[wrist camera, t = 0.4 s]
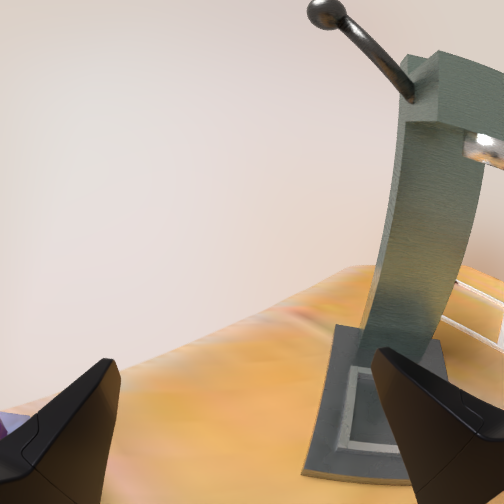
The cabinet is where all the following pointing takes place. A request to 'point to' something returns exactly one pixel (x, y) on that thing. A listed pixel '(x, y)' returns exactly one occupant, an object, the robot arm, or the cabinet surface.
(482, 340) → the photo frame
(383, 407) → the robot arm
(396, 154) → the press
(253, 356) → the cabinet surface
